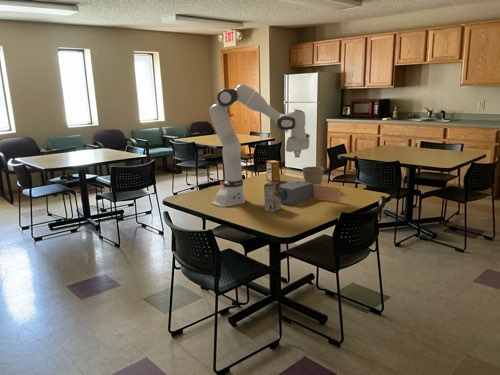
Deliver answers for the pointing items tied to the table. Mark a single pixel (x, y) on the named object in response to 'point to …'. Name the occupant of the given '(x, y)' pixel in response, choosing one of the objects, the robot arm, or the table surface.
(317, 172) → the plant pot
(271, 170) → the baking soda box
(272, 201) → the coffee box
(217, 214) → the table surface
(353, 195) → the table surface
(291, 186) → the camera housing
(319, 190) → the side door
